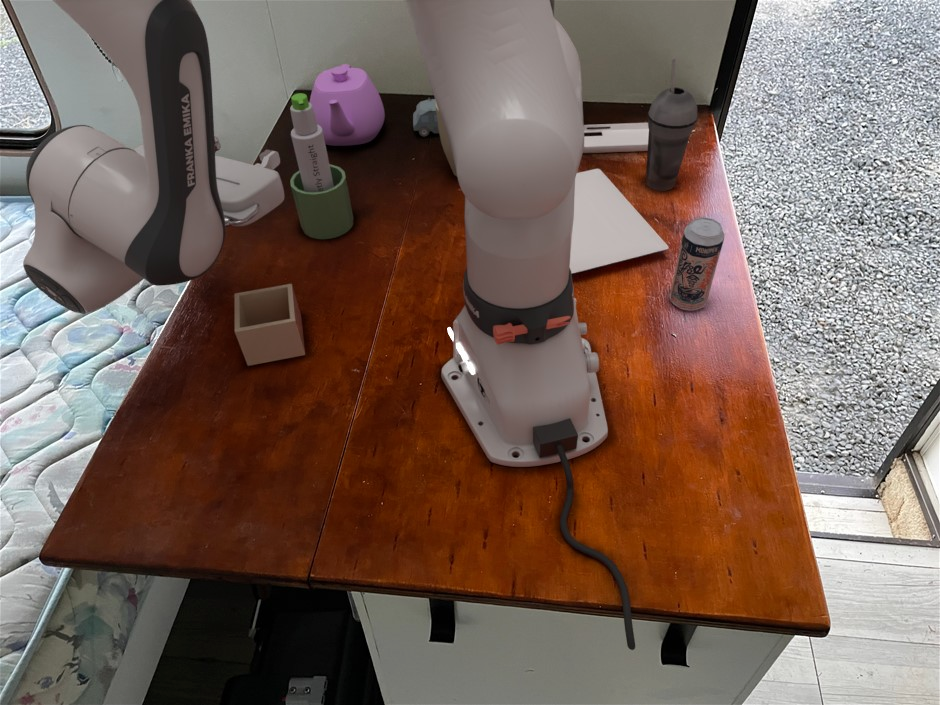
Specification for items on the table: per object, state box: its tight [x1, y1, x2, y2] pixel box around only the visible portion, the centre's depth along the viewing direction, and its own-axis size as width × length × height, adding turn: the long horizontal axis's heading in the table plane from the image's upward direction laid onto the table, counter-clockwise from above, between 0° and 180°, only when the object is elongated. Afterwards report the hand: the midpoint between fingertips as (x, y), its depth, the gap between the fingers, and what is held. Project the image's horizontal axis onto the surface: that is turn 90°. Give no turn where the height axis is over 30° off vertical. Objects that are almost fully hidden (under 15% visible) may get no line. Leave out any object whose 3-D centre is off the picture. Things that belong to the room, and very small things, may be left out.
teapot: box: [308, 63, 386, 147], centre depth 123 cm, size 20×13×12 cm, turn 2°
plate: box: [570, 168, 670, 275], centre depth 105 cm, size 22×22×2 cm
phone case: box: [583, 122, 649, 154], centre depth 122 cm, size 7×1×15 cm
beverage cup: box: [645, 58, 699, 192], centre depth 106 cm, size 7×7×20 cm
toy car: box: [412, 97, 439, 138], centre depth 127 cm, size 6×10×5 cm, turn 92°
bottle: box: [289, 92, 334, 192], centre depth 102 cm, size 4×4×20 cm
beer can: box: [669, 217, 725, 311], centre depth 90 cm, size 5×5×12 cm
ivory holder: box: [234, 283, 306, 367], centre depth 90 cm, size 7×7×6 cm
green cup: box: [289, 163, 355, 240], centre depth 106 cm, size 8×8×8 cm
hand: (244, 147), depth 88 cm, fingers open, 8 cm apart
